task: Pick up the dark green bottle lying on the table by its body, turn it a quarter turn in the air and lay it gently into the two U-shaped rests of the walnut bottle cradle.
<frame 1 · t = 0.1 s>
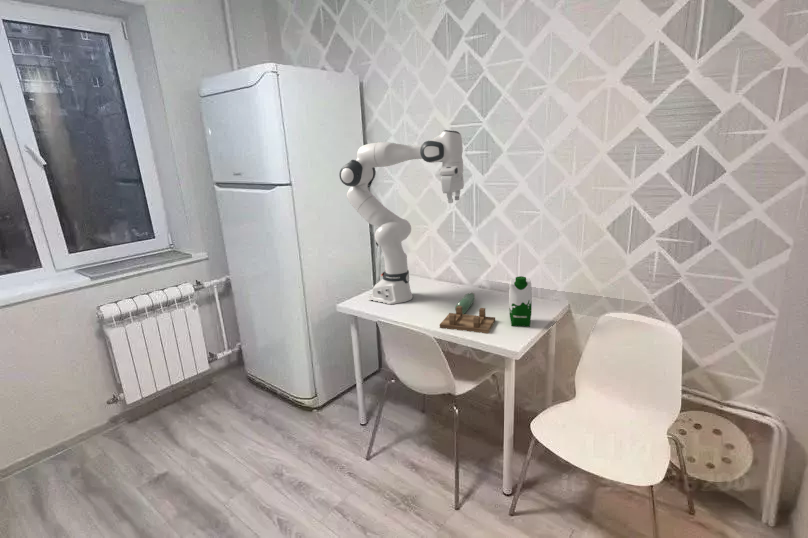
hand: (454, 201, 184), 48 cm above the table, tool pointing down, fingers open, 8 cm apart
cradle: (467, 324, 173), on the table
bottle: (465, 308, 190), on the table
milk carton: (520, 323, 171), on the table
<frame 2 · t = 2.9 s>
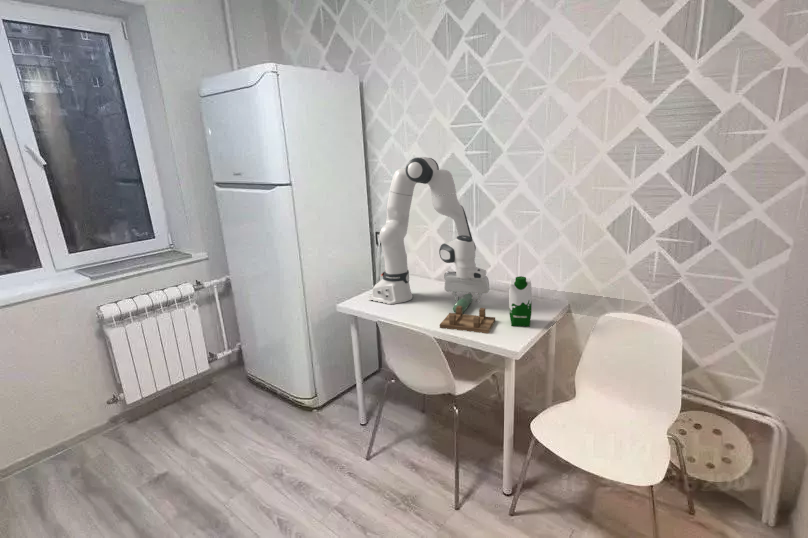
hand: (467, 301, 190), 3 cm above the table, tool pointing down, fingers open, 8 cm apart
bottle: (467, 305, 189), point 1 cm above the table, tilted 73°
everything else where it was.
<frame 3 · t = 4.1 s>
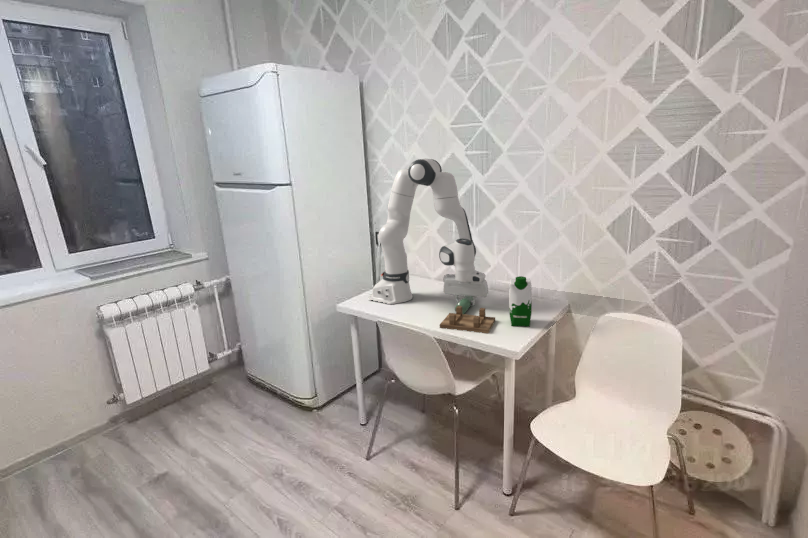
hand: (465, 304, 190), 2 cm above the table, tool pointing down, fingers closed on bottle, 5 cm apart
bottle: (469, 307, 189), point 1 cm above the table, tilted 53°, touching gripper
everything else where it was.
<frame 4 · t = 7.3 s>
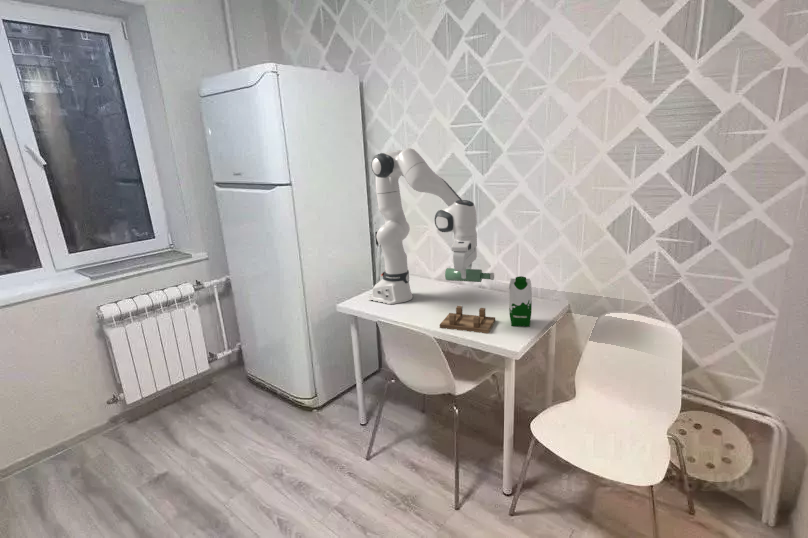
hand: (466, 275, 167), 21 cm above the table, tool pointing down, fingers closed on bottle, 5 cm apart
bottle: (462, 279, 166), point 20 cm above the table, tilted 55°, touching gripper
everything else where it was.
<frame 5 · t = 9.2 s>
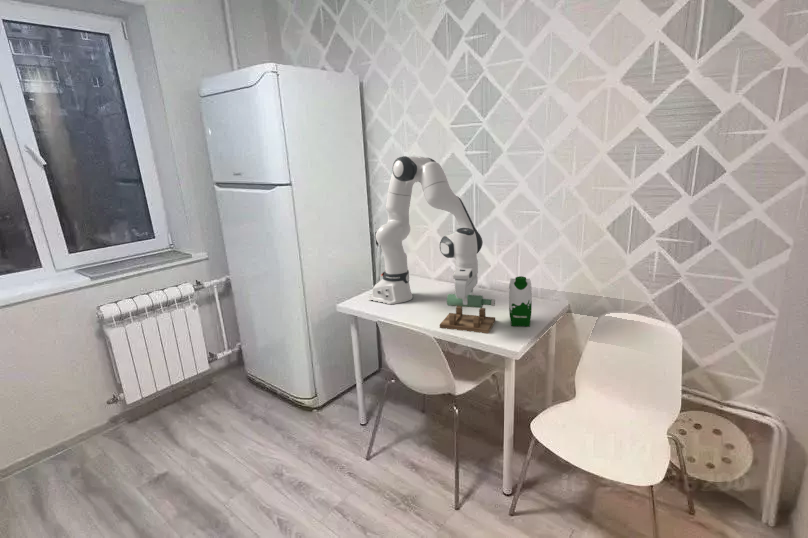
hand: (467, 301, 170), 10 cm above the table, tool pointing down, fingers closed on bottle, 5 cm apart
bottle: (463, 305, 169), point 9 cm above the table, tilted 55°, touching gripper
everything else where it was.
when the fingers open (6 cm above the table, at t = 11.0 s): bottle stays where it is, resting on cradle.
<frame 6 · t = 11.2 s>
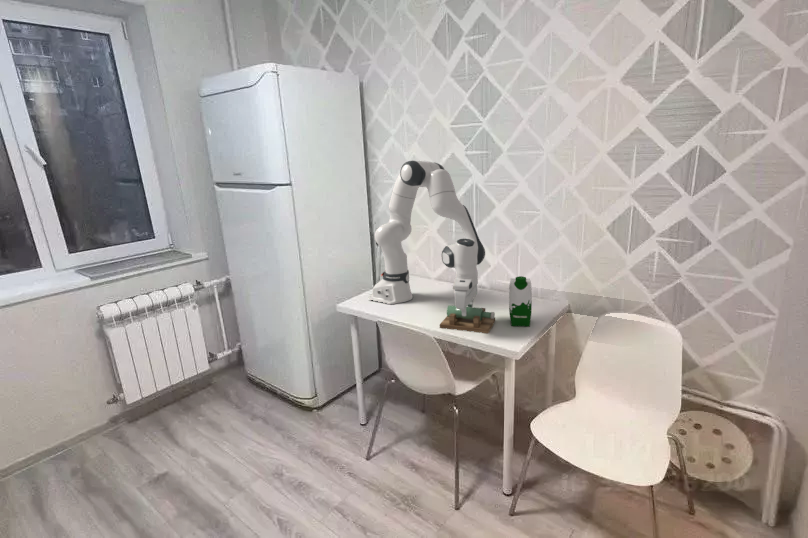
hand: (467, 311, 171), 6 cm above the table, tool pointing down, fingers open, 7 cm apart
bottle: (463, 317, 171), point 4 cm above the table, tilted 55°, touching cradle
everything else where it was.
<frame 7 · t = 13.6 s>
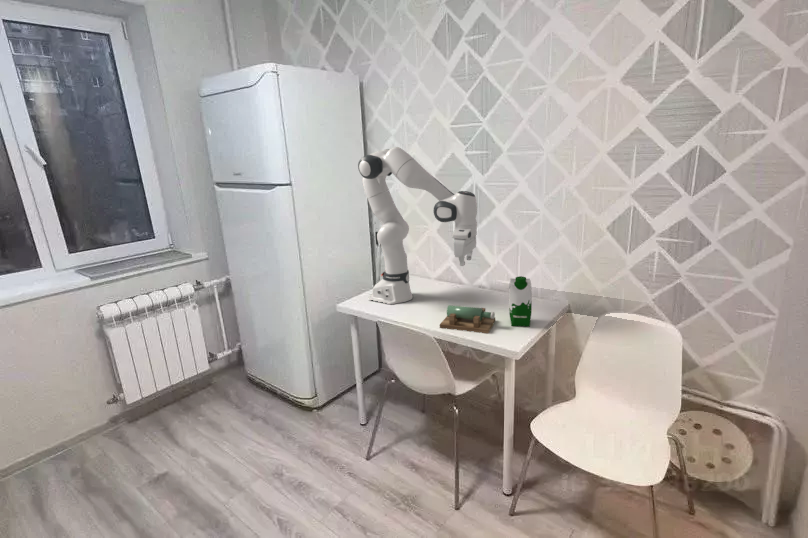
hand: (465, 262, 178), 23 cm above the table, tool pointing down, fingers open, 8 cm apart
nothing on the table moved.
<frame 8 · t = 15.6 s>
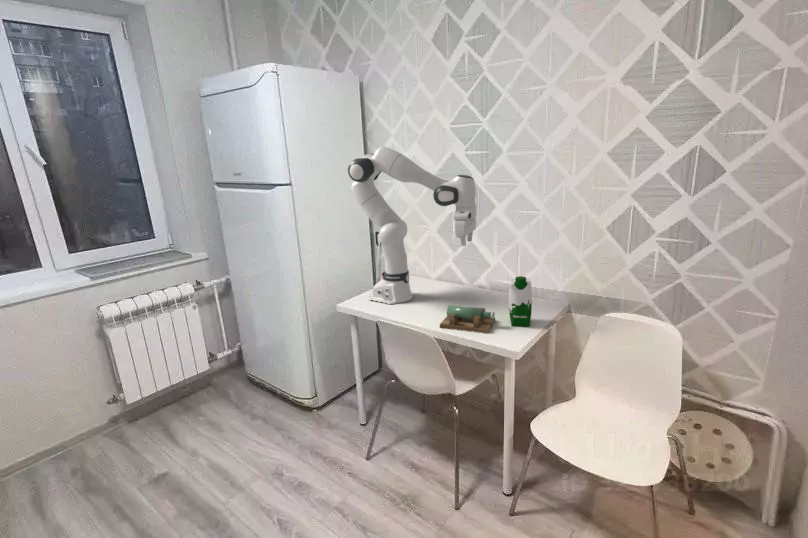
hand: (466, 243, 187), 29 cm above the table, tool pointing down, fingers open, 8 cm apart
nothing on the table moved.
at the end: bottle 2.3 cm off-centre on the cradle, point 3.6 cm above the cradle's base; bottle touching cradle; the gripper is holding nothing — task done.
